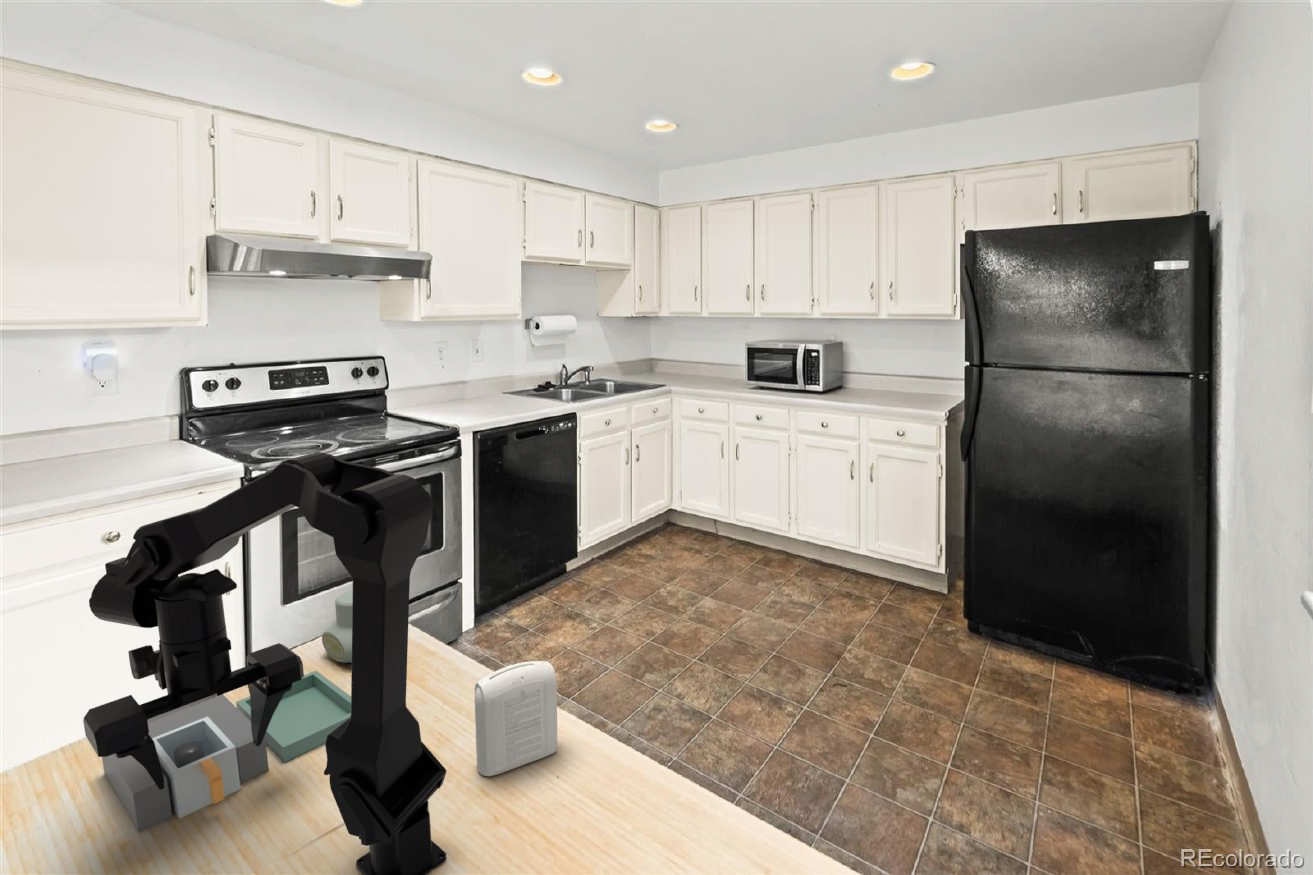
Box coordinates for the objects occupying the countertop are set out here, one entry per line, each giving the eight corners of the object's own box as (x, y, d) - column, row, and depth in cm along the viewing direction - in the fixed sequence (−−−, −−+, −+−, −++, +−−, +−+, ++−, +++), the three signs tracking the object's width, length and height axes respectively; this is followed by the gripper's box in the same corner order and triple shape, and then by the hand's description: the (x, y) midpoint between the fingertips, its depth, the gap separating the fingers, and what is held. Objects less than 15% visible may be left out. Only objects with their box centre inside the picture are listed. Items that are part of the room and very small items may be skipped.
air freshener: (317, 653, 109) (312, 595, 107) (366, 634, 116) (361, 579, 114) (353, 676, 103) (347, 614, 101) (402, 654, 109) (398, 596, 107)
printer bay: (269, 773, 81) (265, 735, 80) (139, 835, 71) (132, 793, 70) (226, 727, 90) (221, 693, 89) (105, 777, 80) (98, 739, 79)
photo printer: (548, 735, 89) (546, 648, 86) (563, 752, 85) (561, 662, 83) (472, 763, 83) (467, 671, 81) (484, 783, 80) (479, 687, 77)
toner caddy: (252, 806, 76) (246, 758, 75) (190, 837, 71) (183, 787, 70) (213, 760, 84) (207, 716, 82) (155, 786, 79) (148, 739, 78)
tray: (368, 725, 90) (367, 708, 90) (285, 766, 82) (283, 747, 82) (317, 685, 100) (316, 670, 99) (238, 718, 92) (236, 701, 91)
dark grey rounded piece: (210, 778, 79) (206, 747, 79) (183, 791, 77) (178, 760, 77) (202, 768, 81) (197, 738, 80) (174, 780, 79) (170, 750, 78)
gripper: (259, 584, 83) (272, 700, 86) (60, 640, 69) (83, 777, 71) (299, 610, 76) (312, 735, 79) (86, 678, 62) (111, 828, 64)
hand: (211, 765), depth 73 cm, fingers open, 9 cm apart
